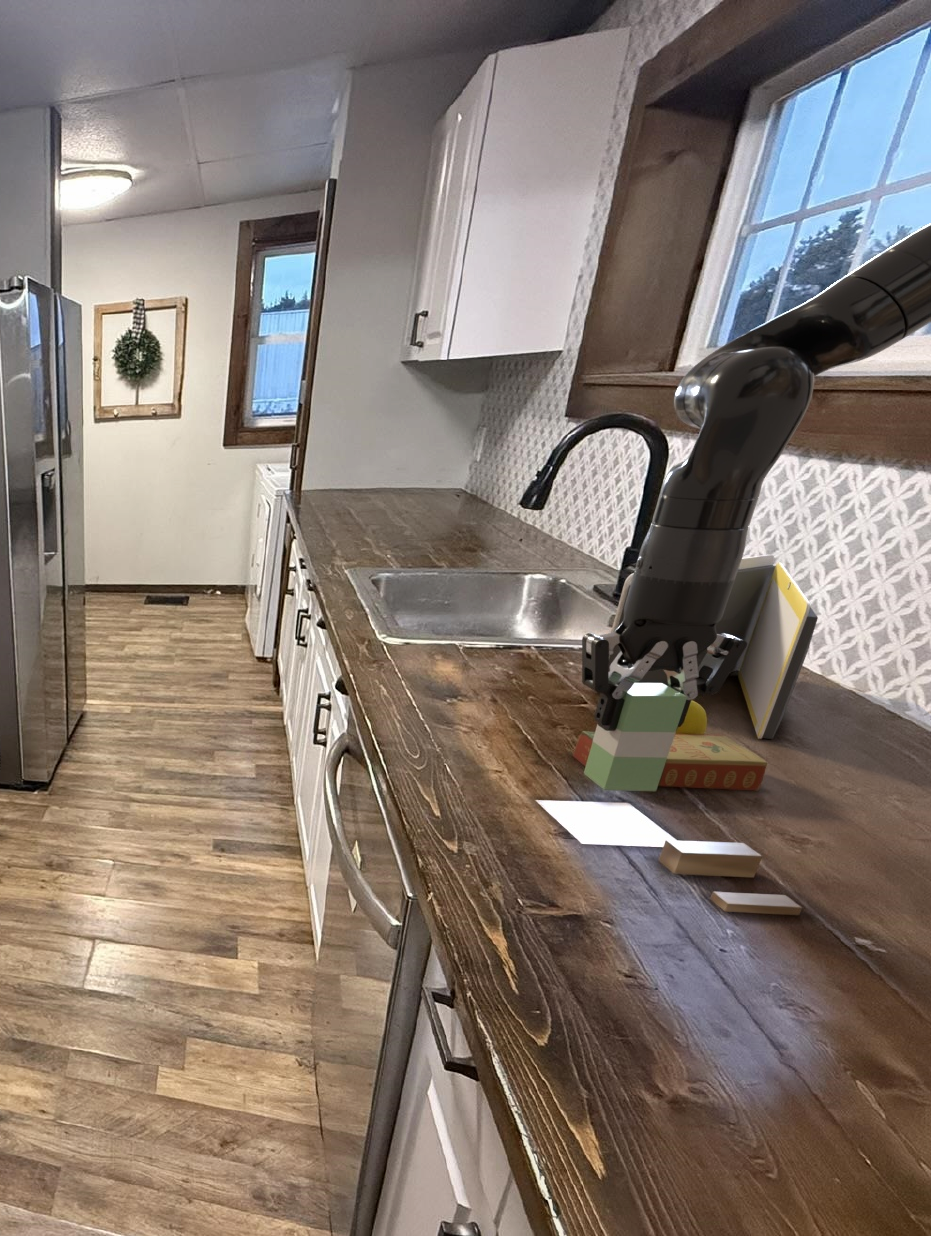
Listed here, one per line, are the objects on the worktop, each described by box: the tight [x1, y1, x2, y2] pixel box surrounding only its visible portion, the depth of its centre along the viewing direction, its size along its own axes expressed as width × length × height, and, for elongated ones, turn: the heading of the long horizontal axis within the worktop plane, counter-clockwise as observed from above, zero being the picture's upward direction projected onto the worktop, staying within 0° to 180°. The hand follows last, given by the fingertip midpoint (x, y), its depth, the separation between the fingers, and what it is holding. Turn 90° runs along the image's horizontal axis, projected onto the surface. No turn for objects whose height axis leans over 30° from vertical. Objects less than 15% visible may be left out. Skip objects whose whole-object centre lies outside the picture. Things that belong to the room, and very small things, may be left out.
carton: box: [572, 730, 768, 791], centre depth 96 cm, size 8×16×4 cm, turn 78°
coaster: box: [534, 799, 677, 849], centre depth 87 cm, size 10×10×1 cm
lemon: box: [675, 700, 708, 734], centre depth 101 cm, size 6×6×8 cm
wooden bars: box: [658, 839, 803, 916], centre depth 75 cm, size 9×7×3 cm
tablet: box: [609, 554, 819, 740], centre depth 117 cm, size 35×22×20 cm, turn 143°
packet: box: [583, 683, 687, 792], centre depth 83 cm, size 11×5×10 cm
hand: (635, 728), depth 82 cm, fingers closed on packet, 5 cm apart
